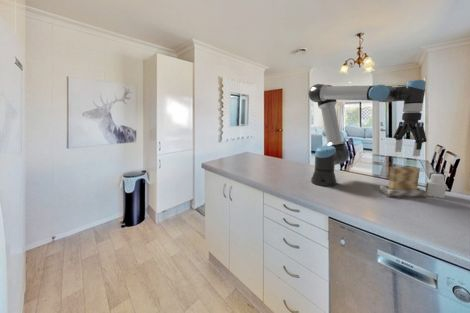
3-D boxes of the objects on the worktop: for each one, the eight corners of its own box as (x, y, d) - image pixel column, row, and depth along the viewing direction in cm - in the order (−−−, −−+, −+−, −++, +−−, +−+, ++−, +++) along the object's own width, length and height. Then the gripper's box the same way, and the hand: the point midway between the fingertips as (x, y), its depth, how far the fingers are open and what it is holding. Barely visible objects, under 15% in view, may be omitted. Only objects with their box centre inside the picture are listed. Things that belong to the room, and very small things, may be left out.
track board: (389, 197, 112) (389, 190, 112) (379, 191, 121) (379, 185, 121) (425, 197, 111) (426, 191, 110) (413, 192, 120) (414, 186, 119)
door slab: (392, 193, 114) (395, 168, 112) (387, 191, 118) (390, 166, 116) (416, 194, 113) (419, 168, 111) (410, 191, 117) (414, 166, 115)
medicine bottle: (425, 192, 119) (428, 171, 117) (442, 194, 115) (446, 173, 113) (425, 195, 114) (429, 173, 112) (444, 198, 110) (448, 176, 107)
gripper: (441, 111, 96) (433, 158, 100) (403, 112, 120) (398, 150, 124) (423, 111, 96) (416, 158, 100) (389, 113, 121) (384, 150, 125)
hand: (406, 153), depth 112 cm, fingers open, 13 cm apart
